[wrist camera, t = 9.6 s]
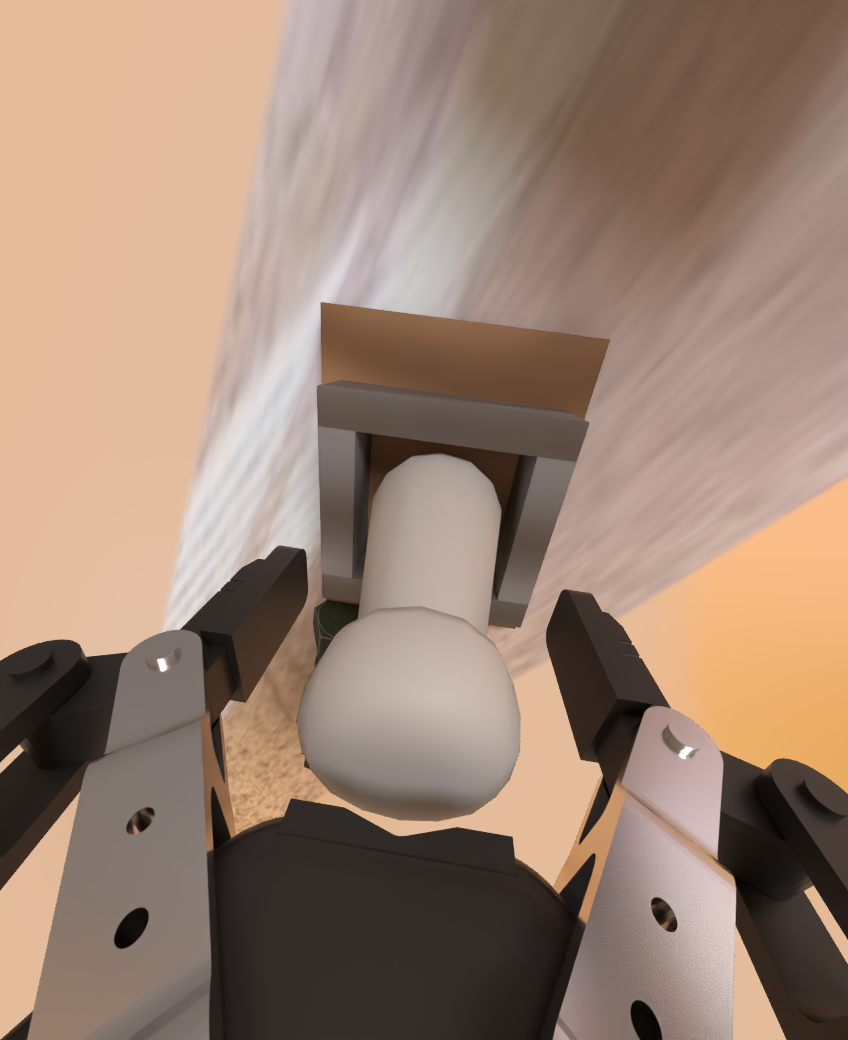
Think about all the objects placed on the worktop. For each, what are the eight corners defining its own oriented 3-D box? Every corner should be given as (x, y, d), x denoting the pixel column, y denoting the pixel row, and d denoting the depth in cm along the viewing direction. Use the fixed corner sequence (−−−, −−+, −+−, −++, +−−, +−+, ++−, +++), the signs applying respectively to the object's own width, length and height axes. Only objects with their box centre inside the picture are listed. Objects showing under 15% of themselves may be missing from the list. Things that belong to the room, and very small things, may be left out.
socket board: (328, 305, 15) (288, 290, 11) (600, 340, 14) (647, 336, 11) (331, 589, 22) (307, 635, 18) (512, 617, 22) (523, 669, 18)
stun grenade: (332, 581, 23) (316, 706, 29) (280, 653, 17) (274, 789, 23) (420, 607, 22) (384, 729, 29) (397, 690, 17) (359, 818, 23)
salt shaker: (394, 548, 19) (293, 855, 7) (372, 449, 16) (167, 672, 5) (499, 539, 18) (573, 871, 6) (492, 433, 16) (589, 659, 4)
